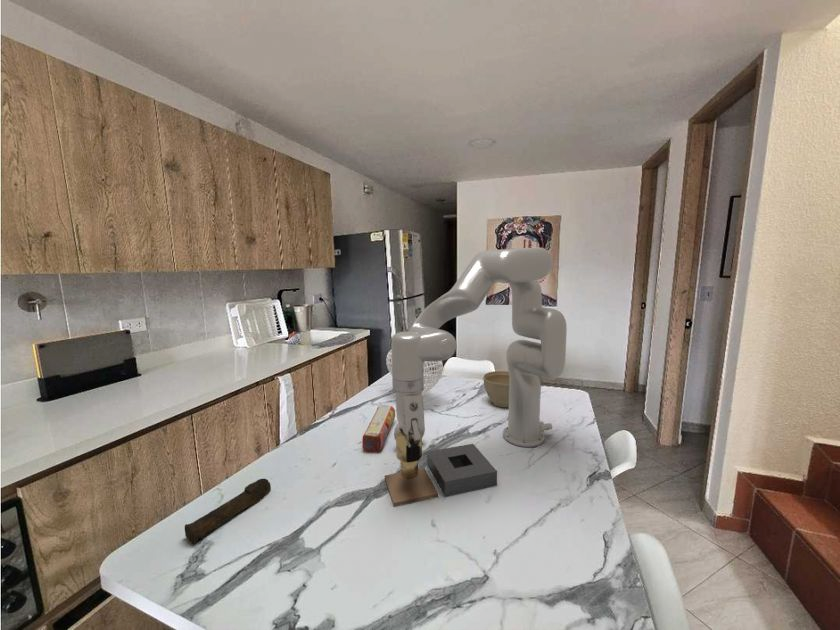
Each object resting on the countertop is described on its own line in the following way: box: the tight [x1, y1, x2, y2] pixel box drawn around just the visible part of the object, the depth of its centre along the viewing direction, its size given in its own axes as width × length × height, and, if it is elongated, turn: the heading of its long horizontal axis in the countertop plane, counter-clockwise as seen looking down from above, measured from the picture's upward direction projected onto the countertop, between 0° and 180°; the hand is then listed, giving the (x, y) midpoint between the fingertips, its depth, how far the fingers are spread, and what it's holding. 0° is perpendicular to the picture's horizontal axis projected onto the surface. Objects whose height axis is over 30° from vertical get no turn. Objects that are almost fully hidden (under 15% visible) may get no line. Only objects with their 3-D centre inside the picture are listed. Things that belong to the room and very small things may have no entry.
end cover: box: [395, 430, 423, 479], centre depth 86 cm, size 6×6×10 cm
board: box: [384, 467, 439, 508], centre depth 87 cm, size 11×11×1 cm
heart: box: [385, 348, 444, 398], centre depth 140 cm, size 28×16×22 cm, turn 36°
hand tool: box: [184, 478, 272, 545], centre depth 78 cm, size 19×4×5 cm, turn 146°
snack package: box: [361, 404, 396, 454], centre depth 113 cm, size 21×7×7 cm, turn 173°
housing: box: [426, 443, 498, 498], centre depth 92 cm, size 14×14×4 cm
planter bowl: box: [482, 370, 509, 408], centre depth 137 cm, size 16×16×11 cm
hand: (409, 452), depth 86 cm, fingers closed on end cover, 6 cm apart
